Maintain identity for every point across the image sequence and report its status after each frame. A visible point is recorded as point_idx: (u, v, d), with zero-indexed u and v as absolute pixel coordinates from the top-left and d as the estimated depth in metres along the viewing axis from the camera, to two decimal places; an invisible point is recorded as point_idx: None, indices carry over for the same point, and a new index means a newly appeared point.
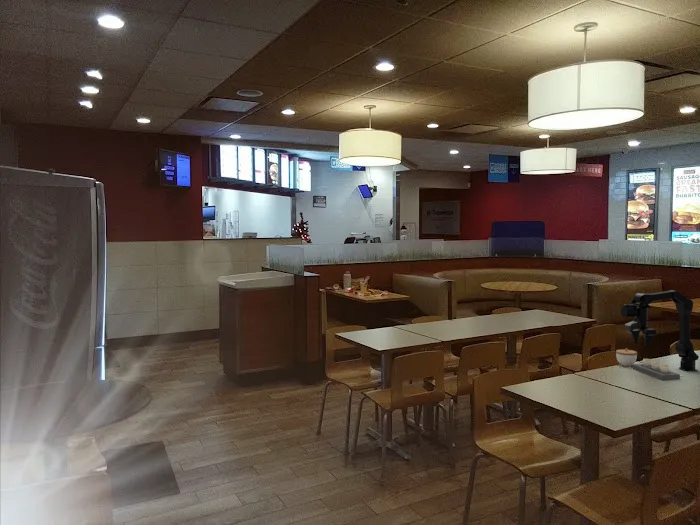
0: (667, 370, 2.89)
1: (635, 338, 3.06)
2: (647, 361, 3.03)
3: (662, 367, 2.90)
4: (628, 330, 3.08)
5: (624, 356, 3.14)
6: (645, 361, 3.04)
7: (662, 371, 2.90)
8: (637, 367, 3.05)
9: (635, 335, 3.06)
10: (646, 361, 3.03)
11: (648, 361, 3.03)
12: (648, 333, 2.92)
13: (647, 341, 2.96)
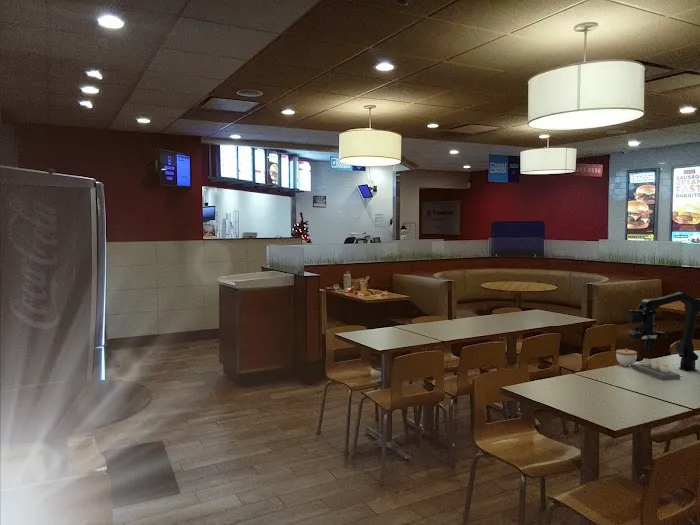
0: (667, 370, 2.89)
1: (648, 345, 3.04)
2: (647, 361, 3.03)
3: (662, 367, 2.90)
4: None
5: (624, 356, 3.14)
6: (645, 361, 3.04)
7: (662, 371, 2.90)
8: (637, 367, 3.05)
9: (649, 342, 3.04)
10: (646, 361, 3.03)
11: (648, 361, 3.03)
12: (629, 335, 3.05)
13: (644, 345, 3.04)
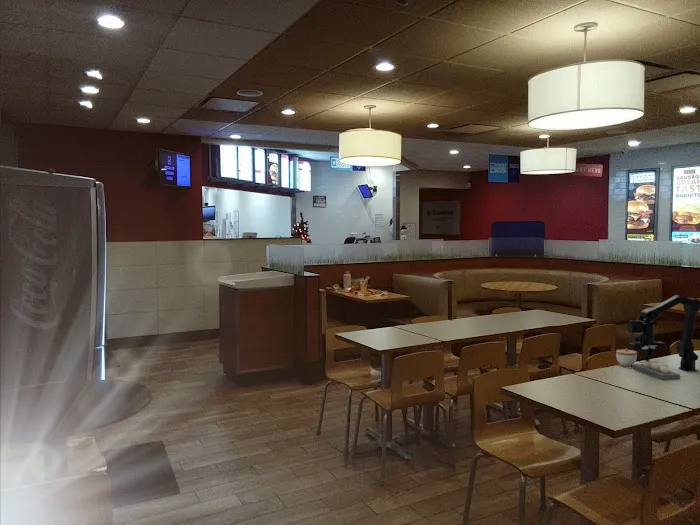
0: (667, 370, 2.89)
1: None
2: (647, 363, 3.03)
3: (662, 367, 2.90)
4: None
5: (624, 356, 3.14)
6: (645, 363, 3.04)
7: (662, 371, 2.90)
8: (637, 367, 3.05)
9: None
10: (646, 363, 3.03)
11: (648, 363, 3.03)
12: (629, 345, 3.05)
13: (645, 355, 3.05)
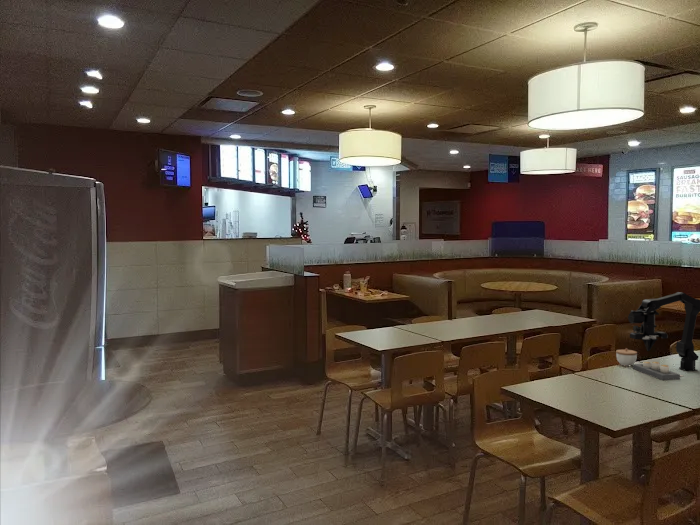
0: (667, 370, 2.89)
1: None
2: (647, 364, 3.03)
3: (662, 367, 2.90)
4: None
5: (624, 356, 3.14)
6: (645, 364, 3.04)
7: (662, 371, 2.90)
8: (637, 367, 3.05)
9: None
10: (646, 364, 3.03)
11: (648, 364, 3.03)
12: (630, 336, 3.04)
13: (645, 345, 3.03)
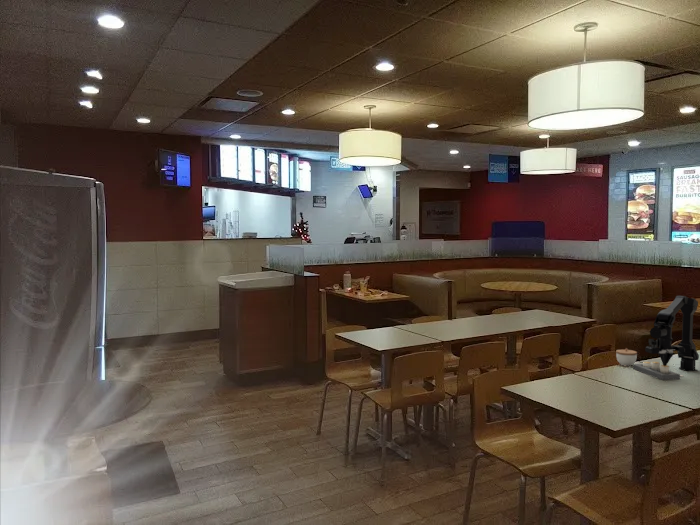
0: (667, 370, 2.89)
1: None
2: (647, 364, 3.03)
3: (662, 367, 2.90)
4: None
5: (624, 356, 3.14)
6: (645, 364, 3.04)
7: (662, 371, 2.90)
8: (637, 367, 3.05)
9: None
10: (646, 364, 3.03)
11: (648, 364, 3.03)
12: (645, 349, 2.91)
13: (662, 359, 2.91)
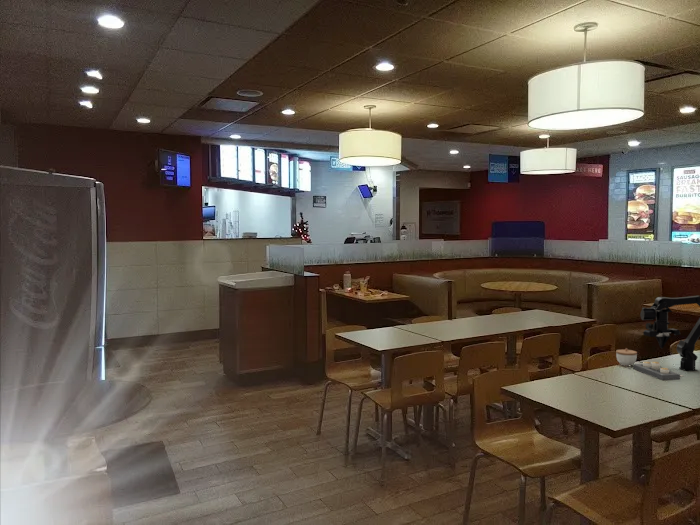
0: (667, 373, 2.89)
1: None
2: (647, 364, 3.03)
3: (662, 370, 2.90)
4: None
5: (624, 356, 3.14)
6: (645, 364, 3.04)
7: None
8: (637, 367, 3.05)
9: None
10: (646, 364, 3.03)
11: (648, 364, 3.03)
12: (644, 333, 3.07)
13: (659, 342, 3.07)
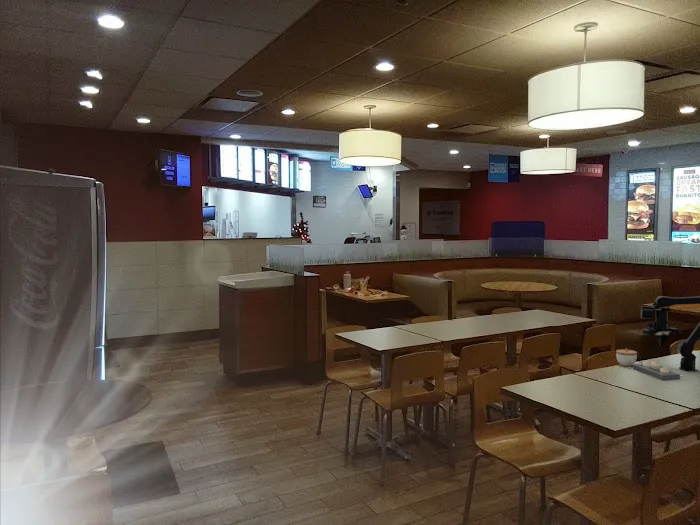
0: (667, 373, 2.89)
1: None
2: (647, 364, 3.03)
3: (662, 370, 2.90)
4: None
5: (624, 356, 3.14)
6: (645, 364, 3.04)
7: None
8: (637, 367, 3.05)
9: None
10: (646, 364, 3.03)
11: (648, 364, 3.03)
12: (643, 331, 3.10)
13: (658, 341, 3.09)
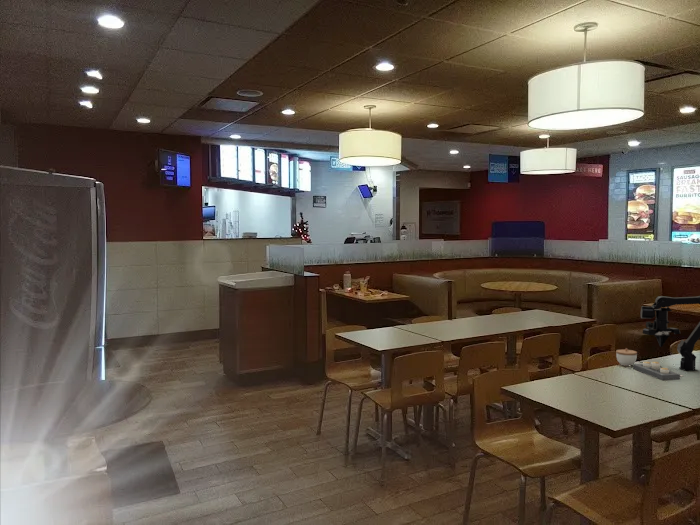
0: (667, 373, 2.89)
1: None
2: (647, 364, 3.03)
3: (662, 370, 2.90)
4: None
5: (624, 356, 3.14)
6: (645, 364, 3.04)
7: None
8: (637, 367, 3.05)
9: None
10: (646, 364, 3.03)
11: (648, 364, 3.03)
12: (643, 331, 3.10)
13: (658, 341, 3.09)
